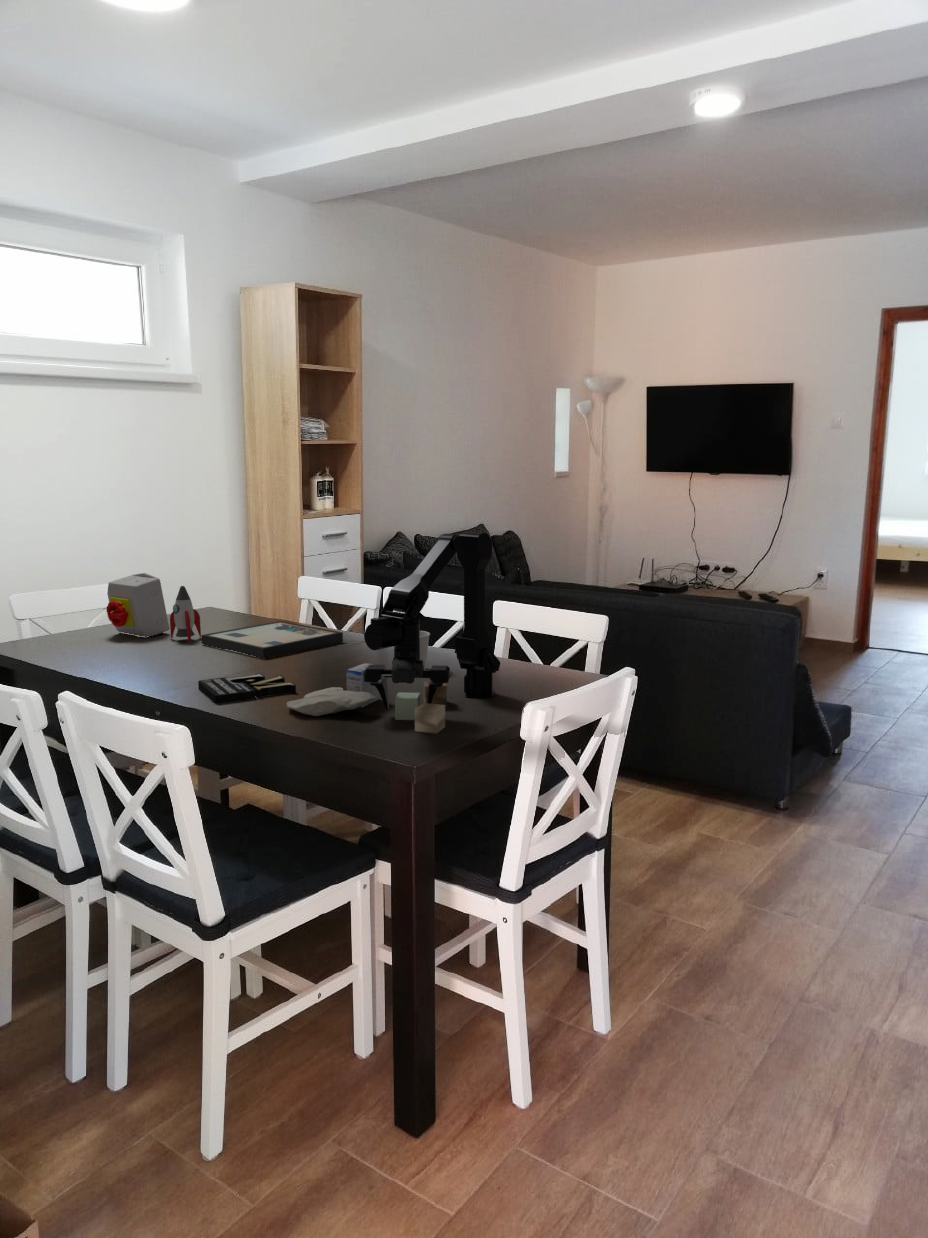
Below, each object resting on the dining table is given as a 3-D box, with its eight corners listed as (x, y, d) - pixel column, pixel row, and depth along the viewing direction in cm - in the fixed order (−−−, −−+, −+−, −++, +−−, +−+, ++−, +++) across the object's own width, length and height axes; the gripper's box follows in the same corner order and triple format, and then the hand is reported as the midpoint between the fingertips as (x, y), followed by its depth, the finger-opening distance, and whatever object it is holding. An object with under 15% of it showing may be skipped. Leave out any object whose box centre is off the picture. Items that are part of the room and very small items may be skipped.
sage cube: (420, 714, 213) (420, 692, 212) (417, 720, 208) (417, 698, 207) (398, 713, 213) (398, 692, 213) (395, 720, 209) (394, 698, 208)
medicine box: (364, 697, 227) (363, 662, 225) (380, 699, 225) (379, 664, 223) (346, 705, 220) (345, 669, 218) (362, 708, 218) (362, 671, 216)
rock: (327, 730, 203) (380, 709, 213) (323, 709, 202) (377, 690, 212) (273, 717, 218) (325, 699, 228) (270, 698, 217) (322, 680, 227)
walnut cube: (444, 701, 224) (444, 680, 223) (446, 706, 219) (446, 685, 218) (423, 701, 223) (423, 681, 222) (425, 707, 218) (425, 686, 218)
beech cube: (445, 727, 203) (444, 705, 202) (436, 733, 198) (436, 711, 197) (423, 725, 205) (423, 702, 204) (414, 731, 200) (414, 709, 199)
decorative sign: (197, 680, 236) (274, 671, 245) (198, 690, 236) (274, 680, 246) (215, 696, 221) (296, 685, 231) (216, 706, 222) (297, 695, 231)
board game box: (342, 632, 290) (263, 648, 267) (343, 644, 291) (263, 661, 268) (280, 620, 310) (201, 634, 287) (280, 632, 310) (202, 646, 288)
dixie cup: (397, 666, 258) (397, 631, 257) (427, 665, 260) (427, 629, 258) (402, 673, 250) (401, 637, 249) (432, 672, 252) (432, 635, 250)
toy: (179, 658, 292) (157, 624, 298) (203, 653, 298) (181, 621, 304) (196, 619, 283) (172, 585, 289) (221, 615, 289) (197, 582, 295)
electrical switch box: (103, 643, 302) (90, 583, 296) (142, 628, 313) (130, 571, 307) (131, 648, 293) (118, 587, 287) (170, 633, 305) (159, 574, 299)
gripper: (358, 650, 201) (360, 720, 203) (445, 651, 199) (445, 722, 202) (367, 639, 211) (369, 706, 214) (450, 640, 210) (450, 708, 213)
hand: (407, 711), depth 211 cm, fingers open, 9 cm apart
